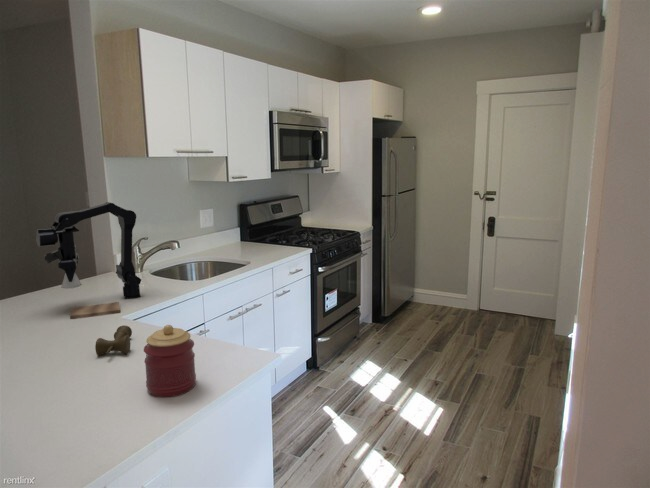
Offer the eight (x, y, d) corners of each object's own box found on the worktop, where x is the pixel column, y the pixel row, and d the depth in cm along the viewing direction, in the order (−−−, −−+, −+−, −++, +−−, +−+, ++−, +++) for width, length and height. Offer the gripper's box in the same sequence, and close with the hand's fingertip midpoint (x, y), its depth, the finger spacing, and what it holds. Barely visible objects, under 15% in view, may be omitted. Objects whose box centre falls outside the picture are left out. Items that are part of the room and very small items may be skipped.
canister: (159, 374, 134) (155, 316, 131) (203, 376, 133) (200, 317, 130) (137, 397, 122) (132, 333, 119) (185, 399, 120) (181, 334, 117)
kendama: (139, 338, 163) (124, 361, 144) (111, 341, 162) (91, 363, 142) (138, 322, 163) (122, 342, 143) (109, 324, 161) (89, 345, 142)
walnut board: (119, 304, 200) (118, 301, 200) (120, 312, 190) (120, 309, 190) (71, 310, 193) (71, 307, 192) (70, 319, 182) (70, 316, 182)
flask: (72, 289, 190) (70, 265, 188) (57, 288, 191) (54, 265, 190) (85, 284, 197) (82, 261, 195) (70, 284, 198) (67, 261, 197)
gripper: (46, 241, 196) (51, 277, 199) (41, 248, 179) (46, 288, 182) (76, 239, 200) (80, 274, 203) (74, 246, 184) (78, 284, 187)
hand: (71, 280), depth 194 cm, fingers closed on flask, 5 cm apart
